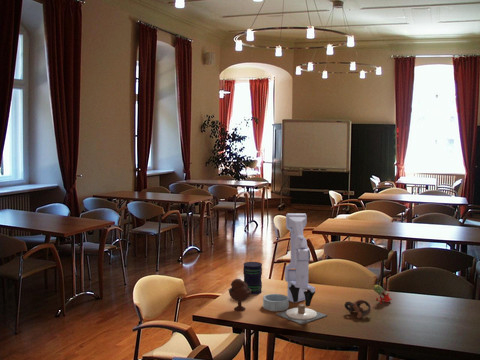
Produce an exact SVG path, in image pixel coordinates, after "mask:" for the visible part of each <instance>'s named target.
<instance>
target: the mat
mask: <svg viewBox="0 0 480 360" xmlns="http://www.w3.org/2000/svg"><path fill="white" fill-rule="evenodd" d="M296 308H298V306H297V307H296ZM305 308H307V307H306V306H305ZM286 311H287V310H283V311H279V312H276V313H275V315H276V316H278V317H281V318H283V319H286V320H289V321H291V322H293V323H296V324H299V325H301V326H302V325H304V324H307V323H310V322H313V321H317V320H320V319H322V318H323V319H324V318H325V317H327V316H328V315H327V314H326V313H321V312H319V311H316V310H315V311H316V312H317V316H316V317H315V318H313V319H309V320H298V319H293V318H290V317H288V316H287V315H286Z"/></svg>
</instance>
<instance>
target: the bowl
mask: <svg viewBox="0 0 480 360" xmlns="http://www.w3.org/2000/svg"><path fill="white" fill-rule="evenodd" d="M289 305H290V301H289V298H288V297H287V295H286V294H281V293H270V294H264V295H263V297H262V308H263V309H264V310H267V311H271V312H283V311H287V310H289V309H290V307H289Z"/></svg>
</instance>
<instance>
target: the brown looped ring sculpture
mask: <svg viewBox="0 0 480 360" xmlns="http://www.w3.org/2000/svg"><path fill="white" fill-rule="evenodd" d="M363 304H365V306H367V309H364V308H363V307H360V306H361V305H363ZM344 308H345V309H346V310H347V311H348V312H349V314H352V313H354V312H356V313H357V315H356V318H357V319H361V318H363V317H364V318H365V317H366V316H369V314H370V313H371V311H372V309H371V305H370V303H369V302H368V301H366V300H364V299H357V300H355V301H354V302H351V301H346V302H345V303H344Z"/></svg>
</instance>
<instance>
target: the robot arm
mask: <svg viewBox="0 0 480 360" xmlns="http://www.w3.org/2000/svg"><path fill="white" fill-rule="evenodd" d="M307 220H308V217H307V214H306V213H305V212H304V213H289V212H288V213H286V215H285V227H286V230H288V231H289V234H290V262H289V263H288V264H287V265H285V266H284V267H285V269H284V281H285V282H286V283H287V291H286V292H287V293H286V294H287V295H286V296H287V297H288V298H289V302H291V303H295V304H296V303H299V302H303V301H304V302H305V303H304V305H305V307H306V308H309V307H310V306H311V303H312V299H313V297H314V295H315V294H316V287H314V286H313V285H311V284H309V270H310V269H309V268H310V267H309V263H310V261H311V250H310V248H309V246H308V242H307V241H308V240H307V238H306V237H305V236H304V229H305V227H307V226H306V225H307V222H308V221H307Z"/></svg>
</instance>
